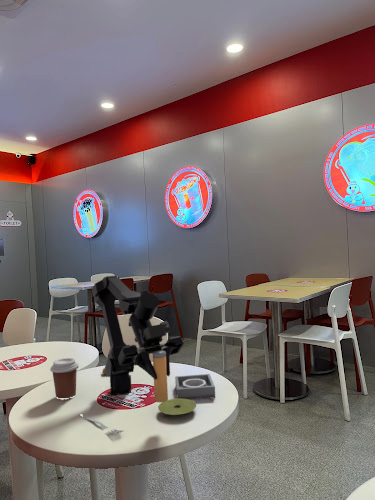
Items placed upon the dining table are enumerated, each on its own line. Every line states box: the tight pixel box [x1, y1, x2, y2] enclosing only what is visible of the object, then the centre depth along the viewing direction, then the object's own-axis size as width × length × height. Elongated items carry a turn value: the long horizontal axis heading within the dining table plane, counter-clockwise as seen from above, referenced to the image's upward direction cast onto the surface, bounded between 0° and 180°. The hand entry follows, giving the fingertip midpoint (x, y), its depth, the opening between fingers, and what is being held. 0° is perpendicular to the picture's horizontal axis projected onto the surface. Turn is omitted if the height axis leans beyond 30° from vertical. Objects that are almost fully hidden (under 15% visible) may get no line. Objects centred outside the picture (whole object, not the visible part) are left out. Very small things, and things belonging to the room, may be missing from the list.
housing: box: [174, 373, 216, 400], centre depth 127 cm, size 12×12×4 cm
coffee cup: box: [49, 357, 80, 398], centre depth 128 cm, size 9×9×12 cm
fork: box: [83, 414, 124, 436], centre depth 108 cm, size 3×24×2 cm, turn 44°
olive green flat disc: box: [157, 398, 197, 416], centre depth 112 cm, size 11×11×2 cm
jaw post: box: [152, 351, 169, 403], centre depth 105 cm, size 4×4×13 cm
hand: (162, 377), depth 103 cm, fingers closed on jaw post, 4 cm apart
